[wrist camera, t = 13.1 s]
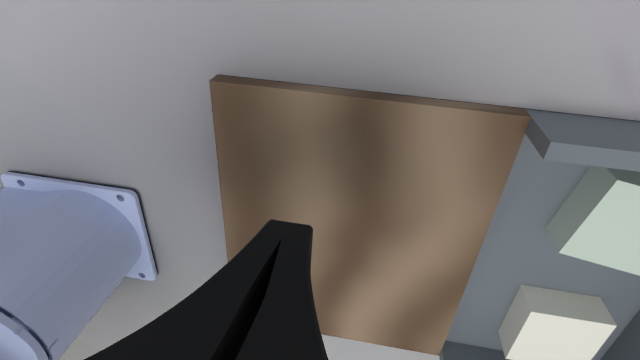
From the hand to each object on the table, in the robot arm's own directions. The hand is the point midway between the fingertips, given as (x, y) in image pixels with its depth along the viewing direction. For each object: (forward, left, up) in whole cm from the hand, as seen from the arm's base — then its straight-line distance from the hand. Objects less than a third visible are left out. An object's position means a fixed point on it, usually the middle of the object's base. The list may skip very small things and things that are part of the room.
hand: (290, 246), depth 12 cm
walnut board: (+2, -7, -9) cm, 12 cm away
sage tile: (+15, -2, -9) cm, 17 cm away
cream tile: (+15, -11, -9) cm, 20 cm away
